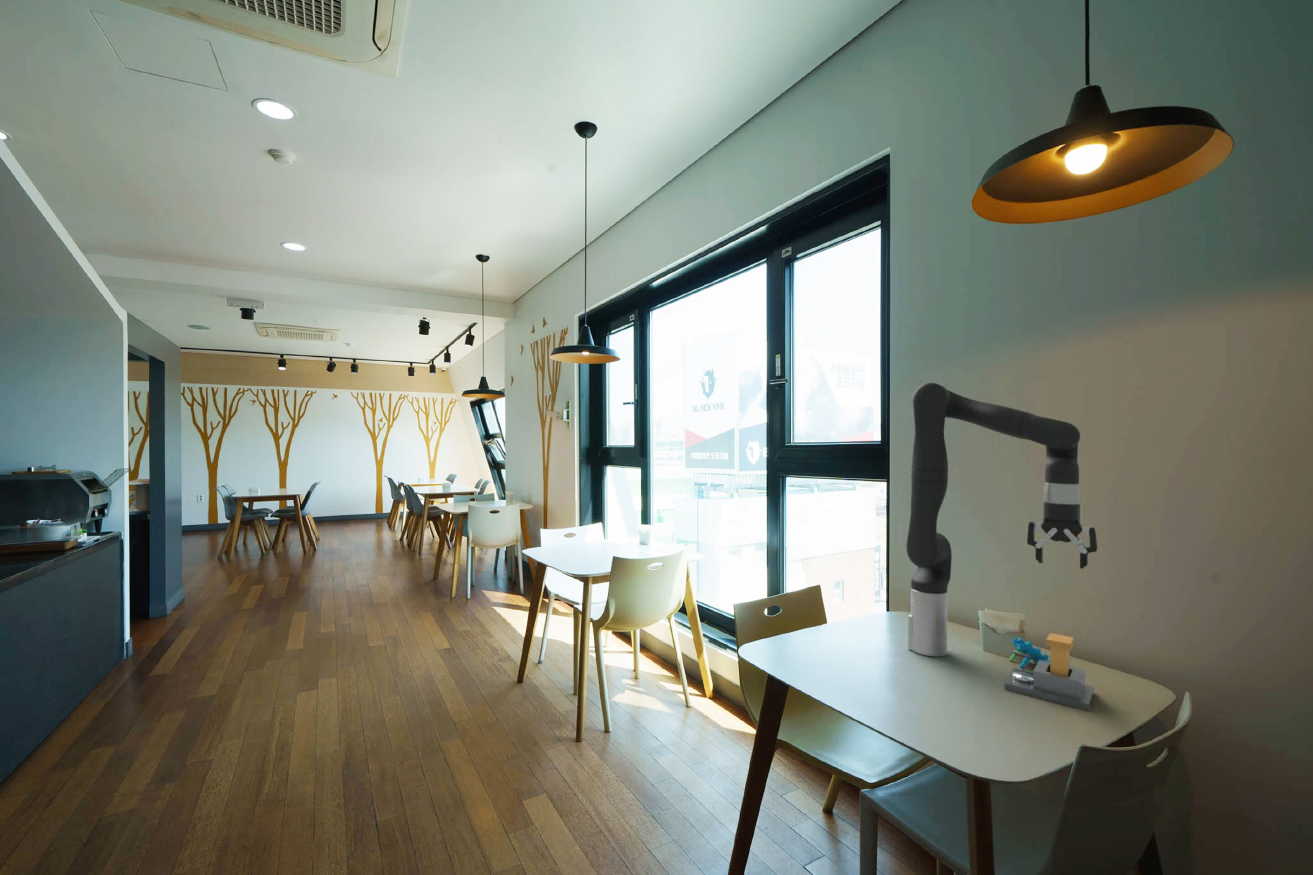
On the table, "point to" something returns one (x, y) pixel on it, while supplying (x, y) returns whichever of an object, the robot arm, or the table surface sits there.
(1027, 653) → the blue jagged figurine
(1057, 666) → the yellow t-shaped post
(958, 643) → the table surface
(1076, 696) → the gray slotted base block
